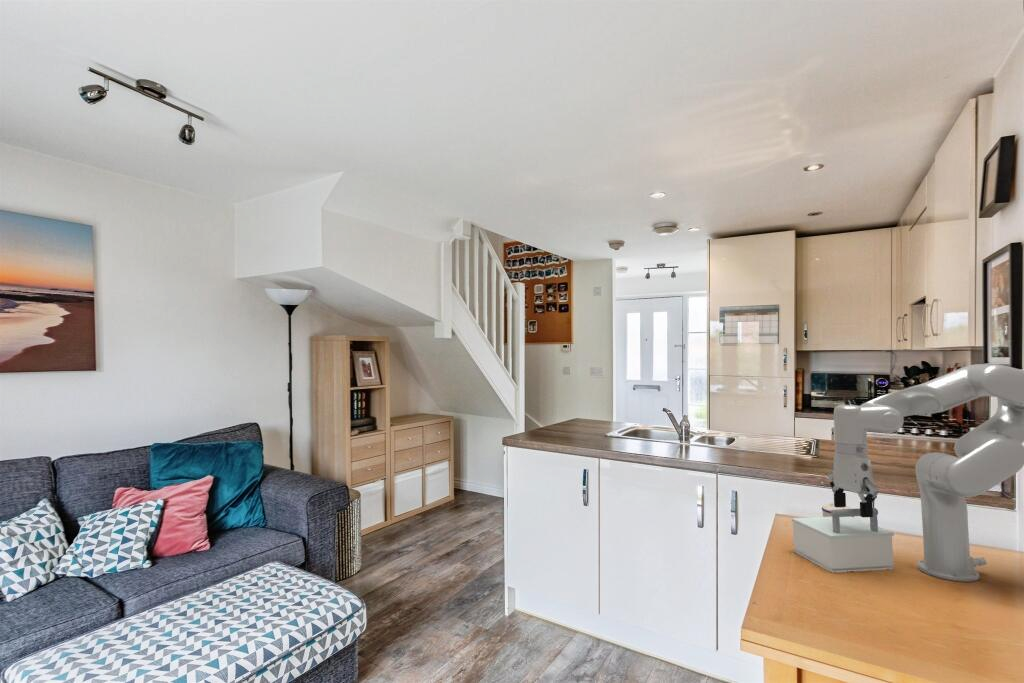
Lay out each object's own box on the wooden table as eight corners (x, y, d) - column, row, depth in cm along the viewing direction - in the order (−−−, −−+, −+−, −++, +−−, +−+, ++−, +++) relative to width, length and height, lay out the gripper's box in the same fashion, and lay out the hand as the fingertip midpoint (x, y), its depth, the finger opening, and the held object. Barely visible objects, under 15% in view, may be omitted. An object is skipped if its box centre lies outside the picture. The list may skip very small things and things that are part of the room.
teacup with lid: (854, 543, 161) (852, 505, 161) (820, 537, 166) (819, 501, 167) (857, 533, 170) (856, 497, 171) (826, 528, 176) (824, 493, 176)
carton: (849, 548, 156) (848, 518, 156) (893, 569, 140) (891, 535, 140) (794, 551, 154) (792, 521, 155) (831, 572, 138) (830, 538, 139)
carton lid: (848, 518, 156) (847, 495, 157) (893, 535, 140) (892, 509, 140) (792, 521, 154) (791, 497, 155) (830, 539, 138) (829, 512, 139)
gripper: (888, 454, 134) (891, 520, 134) (840, 444, 152) (842, 503, 151) (862, 455, 134) (864, 521, 133) (816, 445, 151) (818, 503, 150)
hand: (852, 511), depth 142 cm, fingers open, 9 cm apart
